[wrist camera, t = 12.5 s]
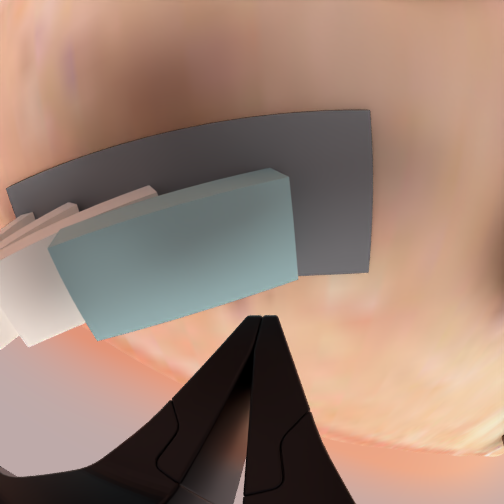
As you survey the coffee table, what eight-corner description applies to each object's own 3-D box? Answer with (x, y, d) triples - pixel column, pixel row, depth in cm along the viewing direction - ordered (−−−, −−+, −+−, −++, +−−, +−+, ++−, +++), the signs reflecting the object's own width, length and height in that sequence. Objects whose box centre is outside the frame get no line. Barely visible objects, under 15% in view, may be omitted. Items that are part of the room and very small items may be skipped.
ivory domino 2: (156, 192, 13) (-20, 271, 9) (183, 280, 15) (28, 347, 11) (149, 185, 14) (-9, 255, 10) (173, 265, 17) (31, 326, 13)
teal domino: (288, 176, 11) (47, 248, 9) (298, 279, 14) (97, 341, 12) (270, 167, 13) (60, 229, 11) (281, 260, 15) (100, 315, 13)
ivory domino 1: (76, 204, 14) (-55, 289, 8) (104, 275, 17) (-10, 358, 10) (68, 202, 16) (-52, 278, 9) (94, 267, 18) (-12, 342, 12)
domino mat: (368, 109, 11) (370, 110, 11) (367, 269, 15) (368, 272, 15) (8, 187, 16) (6, 188, 16) (45, 276, 20) (43, 278, 20)
